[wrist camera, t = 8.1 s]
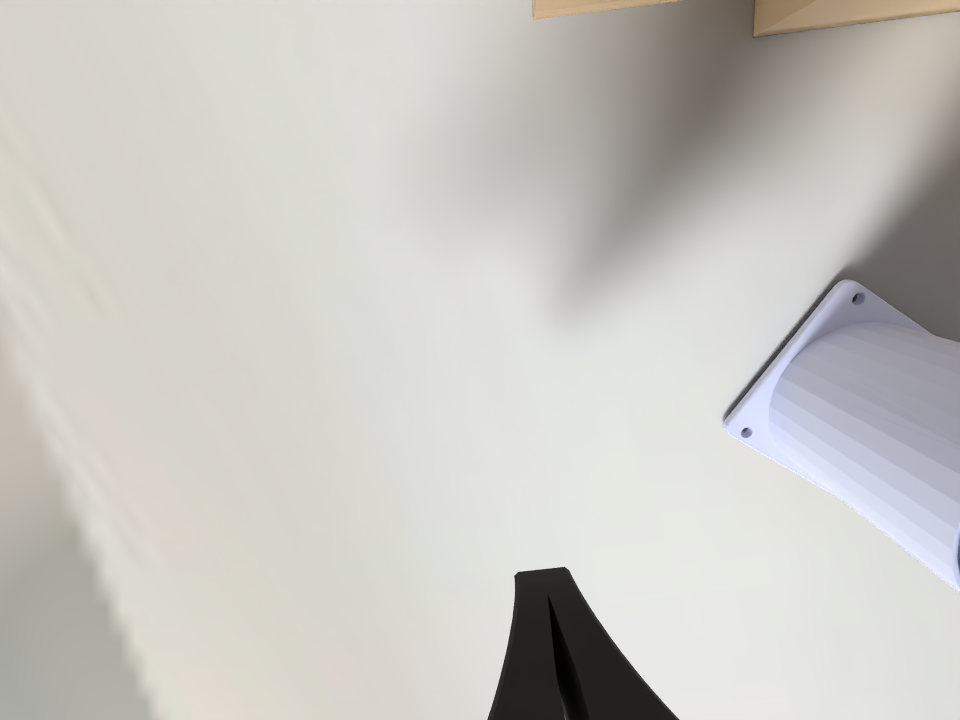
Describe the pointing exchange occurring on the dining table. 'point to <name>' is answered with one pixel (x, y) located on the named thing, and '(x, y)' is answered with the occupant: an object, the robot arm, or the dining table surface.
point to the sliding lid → (584, 6)
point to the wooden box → (838, 13)
